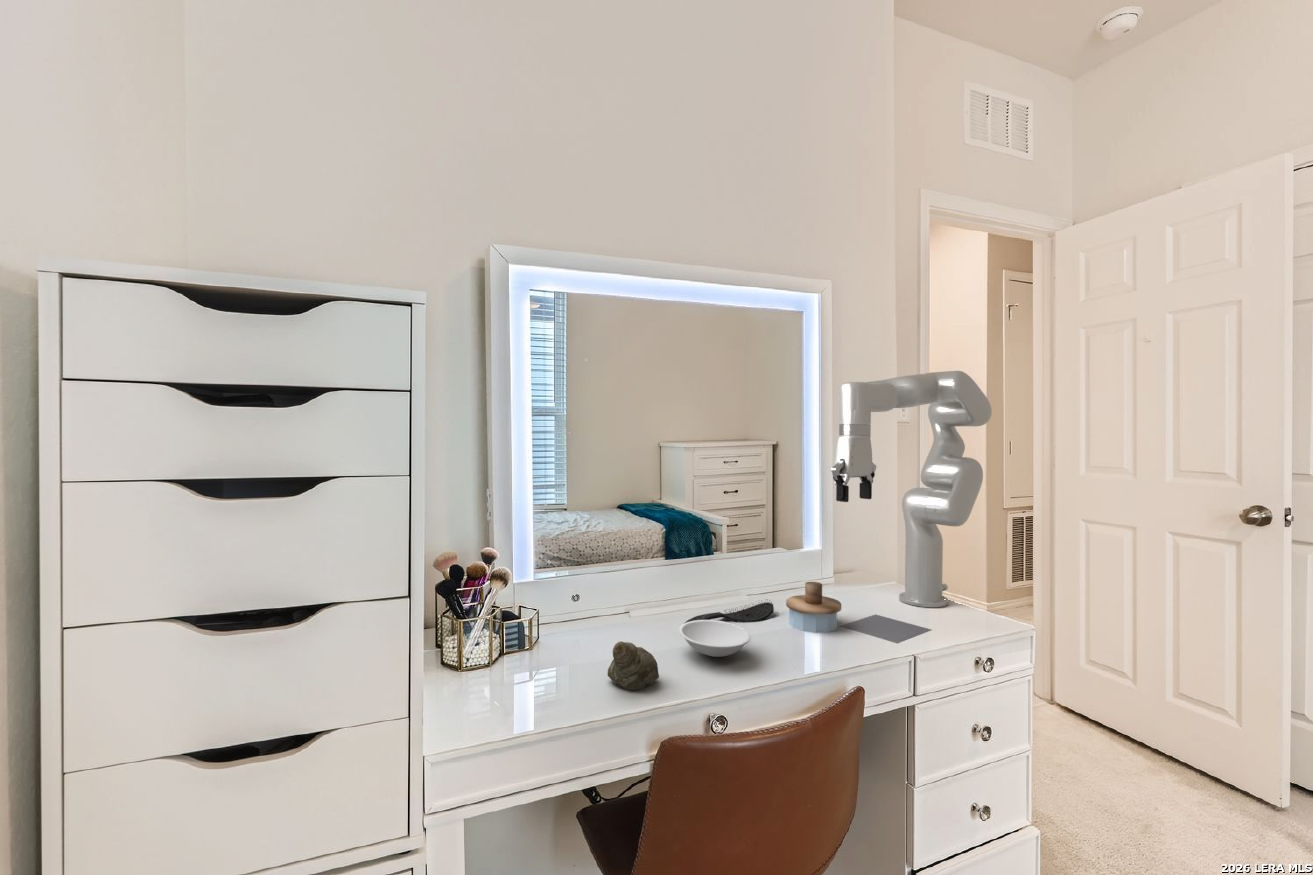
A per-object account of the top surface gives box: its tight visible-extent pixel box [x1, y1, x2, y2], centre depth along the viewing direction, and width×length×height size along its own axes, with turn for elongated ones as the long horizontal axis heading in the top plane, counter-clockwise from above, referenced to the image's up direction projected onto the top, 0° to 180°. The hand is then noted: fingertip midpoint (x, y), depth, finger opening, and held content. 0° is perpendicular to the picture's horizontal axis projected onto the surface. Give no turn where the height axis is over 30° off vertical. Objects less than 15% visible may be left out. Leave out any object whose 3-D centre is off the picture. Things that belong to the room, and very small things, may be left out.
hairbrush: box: [684, 598, 775, 623], centre depth 157 cm, size 8×4×25 cm
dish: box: [678, 619, 752, 658], centre depth 132 cm, size 18×14×5 cm
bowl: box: [788, 608, 838, 634], centre depth 151 cm, size 11×11×5 cm
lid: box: [785, 581, 842, 615], centre depth 151 cm, size 13×13×6 cm
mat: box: [840, 614, 932, 644], centre depth 149 cm, size 15×15×1 cm
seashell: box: [606, 640, 660, 691], centre depth 119 cm, size 11×12×10 cm
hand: (854, 500), depth 156 cm, fingers open, 9 cm apart
